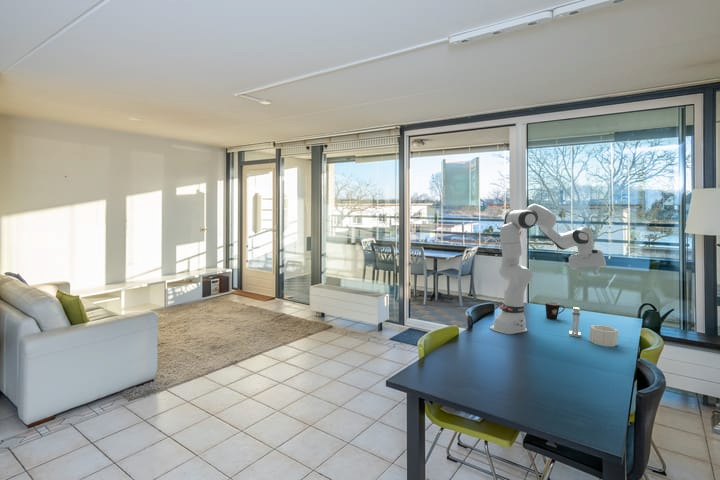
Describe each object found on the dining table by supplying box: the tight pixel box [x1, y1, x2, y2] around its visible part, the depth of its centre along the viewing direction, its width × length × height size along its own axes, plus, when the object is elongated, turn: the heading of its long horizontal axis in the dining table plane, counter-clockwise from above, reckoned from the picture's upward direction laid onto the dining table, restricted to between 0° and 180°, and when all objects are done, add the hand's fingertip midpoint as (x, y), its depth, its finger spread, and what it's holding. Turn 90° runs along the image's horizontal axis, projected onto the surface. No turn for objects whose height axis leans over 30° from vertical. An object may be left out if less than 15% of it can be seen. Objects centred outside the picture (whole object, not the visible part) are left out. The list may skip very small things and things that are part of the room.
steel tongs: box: [568, 306, 581, 338], centre depth 226 cm, size 6×6×16 cm
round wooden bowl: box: [589, 324, 619, 347], centre depth 215 cm, size 12×12×8 cm
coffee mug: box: [544, 301, 566, 321], centre depth 261 cm, size 12×9×10 cm
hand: (587, 275), depth 240 cm, fingers open, 8 cm apart
